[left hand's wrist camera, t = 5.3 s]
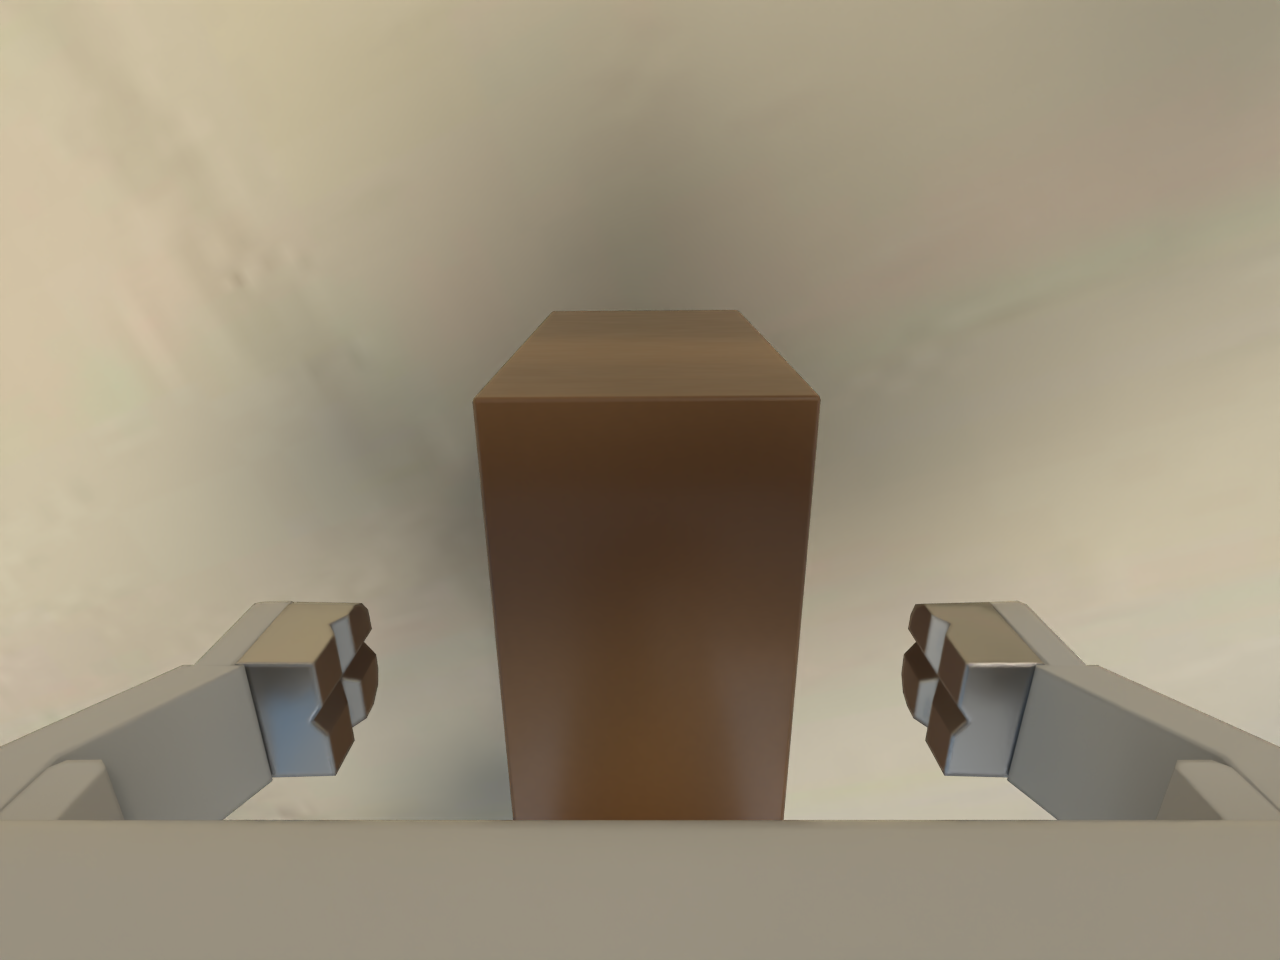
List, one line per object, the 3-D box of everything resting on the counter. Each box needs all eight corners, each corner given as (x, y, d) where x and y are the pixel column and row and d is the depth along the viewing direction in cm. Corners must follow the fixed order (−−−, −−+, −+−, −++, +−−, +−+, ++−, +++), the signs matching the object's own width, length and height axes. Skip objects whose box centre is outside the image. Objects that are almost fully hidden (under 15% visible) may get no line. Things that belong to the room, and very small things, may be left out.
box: (551, 311, 22) (470, 398, 12) (739, 309, 22) (822, 396, 12) (579, 849, 31) (547, 1175, 20) (715, 849, 31) (753, 1175, 20)
